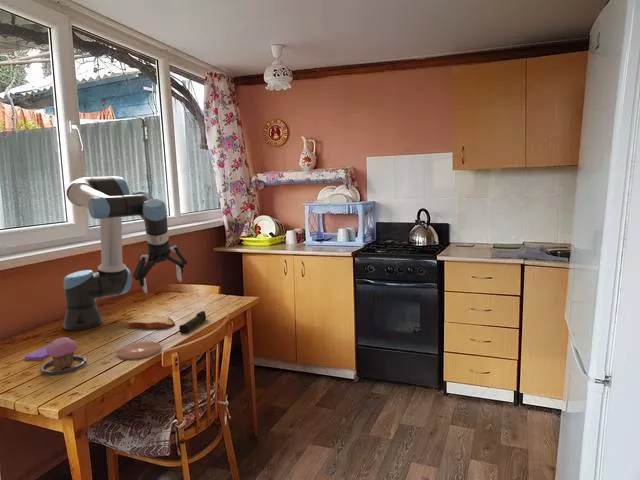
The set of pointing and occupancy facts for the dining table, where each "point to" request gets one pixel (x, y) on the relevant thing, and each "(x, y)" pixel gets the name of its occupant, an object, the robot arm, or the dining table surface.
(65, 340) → the cupcake
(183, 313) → the dining table surface
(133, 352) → the plate
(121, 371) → the dining table surface
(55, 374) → the dark grey ring
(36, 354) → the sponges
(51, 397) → the dining table surface
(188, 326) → the hand tool
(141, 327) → the slice of bread
